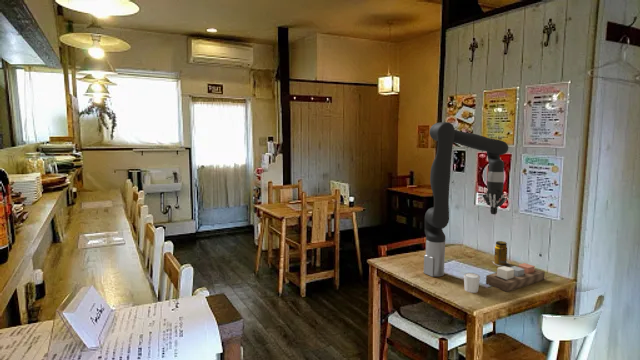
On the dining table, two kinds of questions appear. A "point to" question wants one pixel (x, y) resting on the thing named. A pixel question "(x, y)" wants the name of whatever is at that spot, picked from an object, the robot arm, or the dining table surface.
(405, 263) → the dining table surface
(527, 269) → the terracotta key
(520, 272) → the slate key
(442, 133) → the robot arm
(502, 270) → the cream block
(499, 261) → the condiment
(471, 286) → the white cup
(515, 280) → the brown wooden tray
